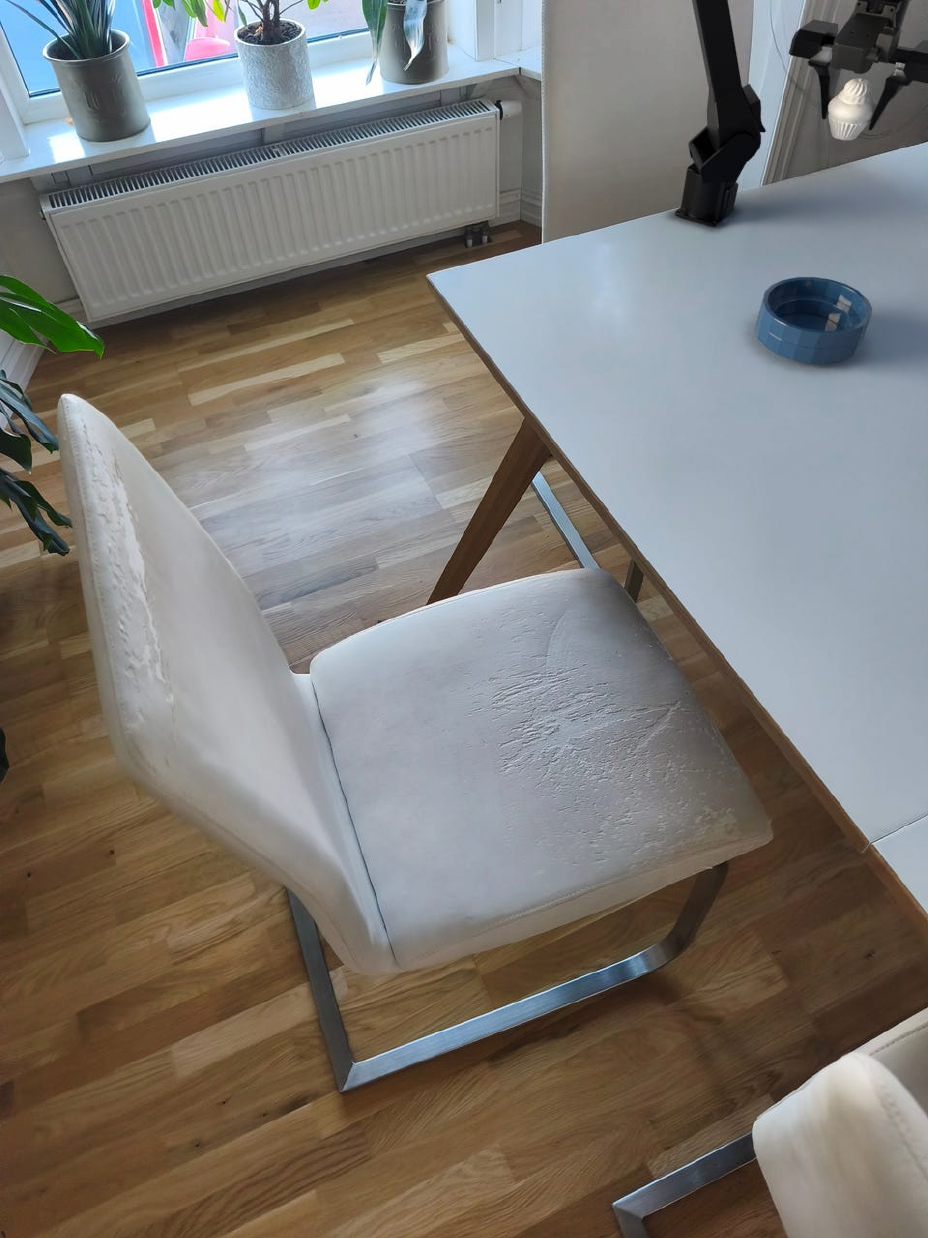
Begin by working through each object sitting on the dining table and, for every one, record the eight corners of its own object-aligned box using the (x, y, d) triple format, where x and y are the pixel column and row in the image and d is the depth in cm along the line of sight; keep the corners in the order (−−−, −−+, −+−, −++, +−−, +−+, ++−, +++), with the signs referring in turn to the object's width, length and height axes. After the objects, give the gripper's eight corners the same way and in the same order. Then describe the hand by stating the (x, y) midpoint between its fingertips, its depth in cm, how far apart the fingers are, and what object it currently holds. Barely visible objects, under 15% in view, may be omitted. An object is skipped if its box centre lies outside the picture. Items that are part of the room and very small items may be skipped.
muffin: (820, 124, 118) (836, 67, 112) (866, 127, 117) (885, 70, 111) (820, 143, 114) (837, 85, 108) (868, 146, 113) (887, 88, 107)
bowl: (736, 344, 102) (744, 310, 99) (781, 300, 108) (790, 266, 105) (833, 380, 97) (846, 345, 94) (875, 331, 103) (888, 297, 100)
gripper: (788, -12, 102) (756, 128, 114) (947, 15, 94) (895, 162, 106) (824, -36, 107) (790, 101, 119) (978, -12, 100) (925, 131, 112)
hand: (847, 123), depth 114 cm, fingers closed on muffin, 6 cm apart
